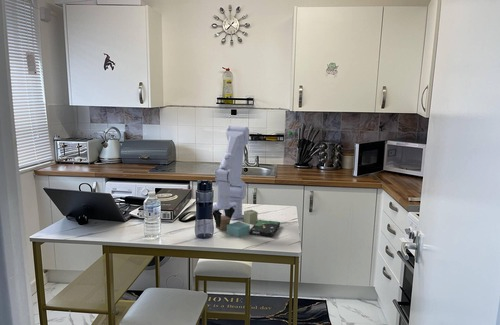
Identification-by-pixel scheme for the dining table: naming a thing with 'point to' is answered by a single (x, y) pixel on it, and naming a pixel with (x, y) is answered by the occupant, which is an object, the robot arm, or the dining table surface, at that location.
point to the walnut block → (223, 223)
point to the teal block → (238, 229)
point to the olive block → (250, 216)
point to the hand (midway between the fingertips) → (222, 225)
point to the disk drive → (265, 228)
